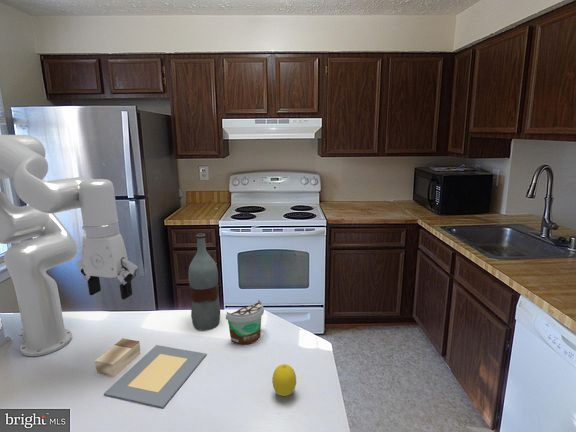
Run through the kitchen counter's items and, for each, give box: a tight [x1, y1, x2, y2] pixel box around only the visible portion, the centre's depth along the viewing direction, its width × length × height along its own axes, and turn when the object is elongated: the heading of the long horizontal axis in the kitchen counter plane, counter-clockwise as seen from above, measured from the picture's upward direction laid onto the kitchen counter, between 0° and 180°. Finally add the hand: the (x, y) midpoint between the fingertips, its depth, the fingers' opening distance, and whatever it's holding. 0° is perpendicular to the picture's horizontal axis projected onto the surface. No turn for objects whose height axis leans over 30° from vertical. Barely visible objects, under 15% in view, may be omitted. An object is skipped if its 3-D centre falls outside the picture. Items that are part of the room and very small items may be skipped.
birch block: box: [94, 338, 142, 378], centre depth 93 cm, size 6×10×4 cm, turn 165°
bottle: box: [187, 233, 221, 331], centre depth 109 cm, size 9×9×30 cm
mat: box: [103, 344, 208, 410], centre depth 89 cm, size 16×20×1 cm
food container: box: [225, 299, 265, 346], centre depth 102 cm, size 12×6×10 cm, turn 131°
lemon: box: [271, 363, 297, 397], centre depth 81 cm, size 6×6×8 cm
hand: (111, 295), depth 89 cm, fingers open, 9 cm apart
